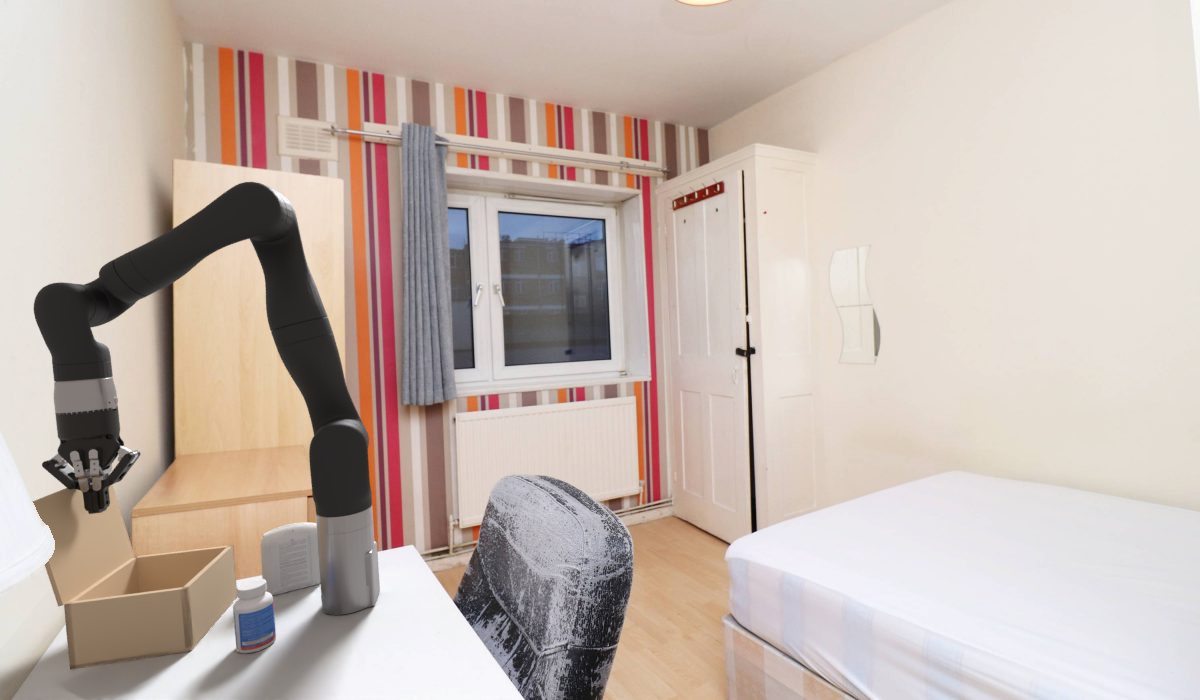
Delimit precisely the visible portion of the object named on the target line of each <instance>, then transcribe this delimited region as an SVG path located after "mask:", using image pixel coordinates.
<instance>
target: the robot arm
mask: <svg viewBox="0 0 1200 700" xmlns="http://www.w3.org/2000/svg"><path fill="white" fill-rule="evenodd" d="M300 232H301V231H300V227H299V223H298V218H297V214H296V211H295V208H294V206H293V205H292V203H291V202H290V200H289V199H288V198H287V197H286V196H285V195H284V194H282V193H281V192H279V191H277V190H275V189H273V188H272V187H270V186H268V185H265V184H263V183H260V182H257V181H256V182H255V181H246V182H245V181H244V182H240V183H238V184H235V185H233V186H232V187H231V188H229V189H228V190H226V191H225V192H223V193H222V194H220V195H219V196H217V197H216V198H215V199H214V200H212V201H211V202H210V203H209V204H207V205H206V206H205V207H204V208H202V209H200V210H199V211H198V212H196V213H195V214H193V215H192V216H190V217H189V218H187V219H186V220H184V221H183V222H181V223H180V224H178V225H177V226H175V227H173V228H172V229H170V230H168V231H166V232H165V233H163V234H161V235H159V236H157V237H156V238H153V239H151V240H150V241H148V242H146V243H145V244H142V245H140V246H138V247H136V248H134V249H132V250H130V251H128V252H125V253H123V254H122V255H120V256H118V257H116V258H114V259H112V260H110V261H108V262H107V263H105V264H104V265H103V266H102V267H101V268H100V269H99V272H98V277H97V278H96V279H94V280H92V281H90V282H87V283H84V284H81V283H72V282H71V283H70V282H61V281H60V282H53V283H49V284H47V285H45V286H43V287H41V289H39V291H38V292H37V294H36V296H35V298H34V302H33V314H34V319H35V322H36V324H37V327H38V330H39V332H40V334H41V337H42V339H43V341H44V343H45V345H46V347H47V349H48V351H49V353H50V355H51V366H52V374H53V385H54V386H53V387H54V388H53V403H54V405H53V406H54V414H55V423H56V430H57V438H58V440H59V446H58V448H57V453H56V454H55V455H54V456H53V457H51V458H50V459H49V460H45V461H43V462H42V463H41V465H42V468H43V470H44V469H45V470H46V471H47V472H48V473H49V474H50V475H51V476H52V477H54V478H55V479H56V480H57V481H58V482H60V483H61V484H62V485H63V486H65V488H68V489H77V490H80V491H82V493H83V500H84V508H85V510H86V511H88V513H89V514H95V513H101V512H103V511H105V510H106V509H107V507H108V506H109V505H110V498H109V486H110V485H112V486H113V485H114V484H116V483H119V482H122V480H123V479H124V477H126V475H127V474H128V472H129V471H130V470H131V468H132V467H133V465H134V464H135V463H136V462H137V460H139V458H140V457H141V452H140V450H138V449H137V450H132V449H130V448H128V447H126V446H125V442H124V441H123V439H122V438H121V436H120V435H121V434H120V433H121V425H120V424H121V423H120V414H119V398H118V394H117V389H116V388H117V387H116V384H115V381H114V376H113V366H112V356H111V351H110V348H109V346H107V345H106V344H105V343H102V342H99V341H97V340H96V339H95V337H94V334H93V331H92V328H96V327H100V326H102V325H105V324H107V323H110V322H111V321H113V320H115V319H118V317H120V316H121V315H122V314H124V313H125V312H127V311H128V310H129V309H130V308H131V307H133V305H135V304H137V302H138V301H140V300H142V299H144V298H146V297H149V296H150V295H152V294H154V293H156V292H159V290H160V291H161V290H162V289H164V288H166V287H168V286H170V285H171V284H173V283H174V282H176V281H178V280H179V279H181V278H183V277H184V276H186V275H187V273H189V272H190V271H191V270H192V269H193V268H195V266H197V265H198V264H199V263H200V262H201V261H203V260H204V259H206V258H207V257H209V256H210V255H212V254H214V253H215V252H217V251H220V250H221V249H223V248H226V247H228V246H231V245H234V244H237V243H239V242H242V241H246V240H249V241H250V242H251V245H252V247H253V249H254V252H255V254H256V257H257V258H258V261H259V264H260V265H261V269H262V272H263V277H264V283H265V285H264V286H265V306H266V307H265V310H266V317H267V323H268V326H269V330H270V333H271V336H272V338H273V343H274V345H275V347H276V350H277V352H278V355H279V357H280V359H281V362H282V363H283V366H284V367H285V369H286V370H287V373H288V374H289V376H290V377H291V380H292V381H293V382H294V384H295V385H296V387H297V388H298V390H299V392H300V393H301V396H302V397H303V399H304V403H305V405H306V408H307V412H308V414H309V418H310V422H311V426H312V431H313V437H312V438H311V441H310V444H309V450H308V451H309V453H308V456H309V460H308V461H309V473H310V482H311V483H310V484H311V492H312V493H311V494H312V499H313V502H314V505H315V506H314V507H315V523H317V538H318V553H319V568H320V583H319V584H320V593H321V595H320V598H321V599H320V600H321V609H322V611H323V613H326V614H329V615H333V616H337V615H338V616H339V615H348V614H351V613H352V614H353V613H355V612H358V611H363V610H364V609H366V608H369V607H374V606H376V604H377V601H378V598H379V595H380V591H381V587H380V568H379V555H378V553H379V552H378V541H375V531H374V529H375V528H374V516H373V515H374V514H373V513H374V512H373V499H372V498H373V495H372V488H371V487H372V486H371V479H370V462H369V445H370V437H369V433H368V431H367V429H366V427H365V425H364V423H363V420H362V418H361V417H360V415H359V412H358V411H357V409H356V406H355V404H354V401H353V399H352V396H351V395H350V392H349V390H348V386H347V383H346V378H345V375H344V370H343V365H342V360H341V355H340V352H339V348H338V345H337V342H336V339H335V334H334V332H333V329H332V325H331V322H330V320H329V316H328V314H327V312H326V311H327V310H326V309H325V305H324V303H323V301H322V298H321V295H320V292H319V290H318V287H317V285H316V282H315V280H314V277H313V275H312V272H311V271H310V267H309V265H308V262H307V258H306V255H305V251H304V247H303V241H302V236H301V233H300ZM116 459H117V461H118V463H117V464H116V465H115V467H113V463H114V462H115V461H116Z"/></svg>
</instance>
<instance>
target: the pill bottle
mask: <svg viewBox="0 0 1200 700" xmlns="http://www.w3.org/2000/svg"><path fill="white" fill-rule="evenodd" d="M266 590H267V583H266V580H265V579H262V578H255V579H249V580H247V581H244V582H242V583H240V584H239V585H237V599H236V600H235V601H234V602H233V603H234V604H232V605H233V606H232V612H233V613H232V614H233V623H234V637H235V646H236V651H237V652H238V653H242V654H252V653H256V652H260V651H262V650H264V649H266V648H269V646H271V645H272V644H273V643H274V642H275V641H276V638H277V634H276V632H277V631H276V619H275V618H276V617H275V607H274V606H275V605H274V598H273V597H274V596H273V595H272V594H271V593H269V592H266Z"/></svg>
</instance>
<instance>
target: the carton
mask: <svg viewBox="0 0 1200 700" xmlns="http://www.w3.org/2000/svg"><path fill="white" fill-rule="evenodd" d="M234 548H235V545H234V544H229V545H222V546H214V547H205V548H198V549H197V548H196V549H188V550H187V549H186V550H179V551H177V550H176V551H171V552H163V553H153V554H152V553H151V554H145V555H136V556H135V555H134V557H133V558H131V559H130V560H128V561H127V562H125V563H124V564H122V565H121V566H120V567H118V568H117V569H115V570H114V571H112V572H111V573H109V574H108V575H106V576H105V577H103V578H102V579H101V580H99V581H98V582H96V583H95V584H93V585H92V586H90V587H89V588H87V589H86V590H85V591H83V592H82V593H80V594H79V595H77V596H76V597H74V598H73V599H71V600H70V601H69V602H67V603H66V604H64V605H63V609H64V620H65V631H66V632H65V633H66V641H67V653H68V663H69V664H68V665H69V670H76V669H77V670H78V669H83V668H89V667H97V666H102V665H103V666H105V665H109V664H110V665H111V664H115V663H121V662H129V661H135V659H136V660H141V659H142V658H143V659H149V658H155V657H156V658H157V657H161V656H168V655H174V654H181V653H188V652H192V651H193V650H194V649H195V648H196V646H197V645H198V644H199V643H200V642H201V640H202V639H203V638H204V637H205V636H206V635H205V634H207V633H208V632H209V631H210V630H211V629H212V628H213V626H215V624H216V623H217V622H216V621H217V620H218V621H219V620H220V619H221V617H222V616H221V615H222V614H223V615H224V613H225V612H227V610H228V609H229V608H230V606H231V605H233V603H234V602H235V601H236V600H237V599H238V596H237V587H238V585H237V573H236V561H235V560H236V559H235V549H234ZM234 600H235V601H234ZM233 601H234V602H233ZM232 602H233V603H232ZM228 607H229V608H228ZM227 608H228V609H227ZM215 622H216V623H215ZM211 627H212V628H211ZM210 628H211V629H210Z"/></svg>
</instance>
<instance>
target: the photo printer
mask: <svg viewBox="0 0 1200 700" xmlns="http://www.w3.org/2000/svg"><path fill="white" fill-rule="evenodd" d="M260 555H261V557H260V558H261V559H260V560H261V574H262V575H261V576H262V577H261V579H265V580H266V583H267V590H266V592H269V593H271V594H272V596H275V595H276V596H277V595H281V594H283V593H288V592H291V591H296V590H300V589H304V588H308V587H312V586H316V585H318V584H321V583H320V568H319V553H318V538H317V523H316V522H305V521H304V522H294V523H289V524H284V525H281V526H277V527H275V528H272V529H271V530H269V531H267V532H264V533H263V534H262V539H261V542H260Z"/></svg>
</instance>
